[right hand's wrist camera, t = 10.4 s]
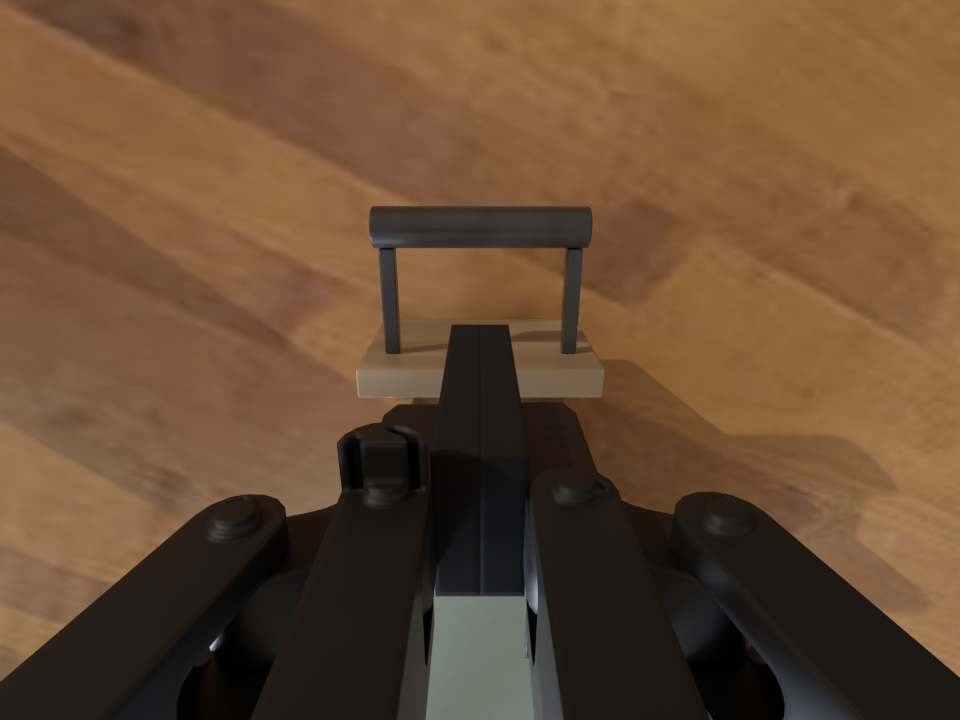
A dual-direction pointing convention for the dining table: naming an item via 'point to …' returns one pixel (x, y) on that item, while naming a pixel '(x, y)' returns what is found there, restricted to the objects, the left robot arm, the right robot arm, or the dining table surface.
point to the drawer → (535, 342)
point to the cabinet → (479, 660)
